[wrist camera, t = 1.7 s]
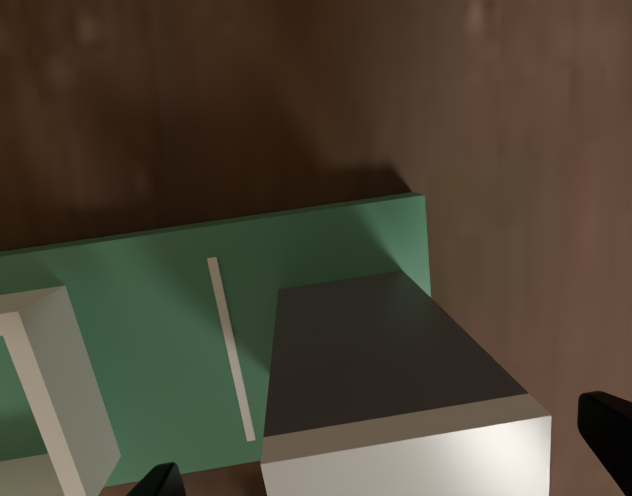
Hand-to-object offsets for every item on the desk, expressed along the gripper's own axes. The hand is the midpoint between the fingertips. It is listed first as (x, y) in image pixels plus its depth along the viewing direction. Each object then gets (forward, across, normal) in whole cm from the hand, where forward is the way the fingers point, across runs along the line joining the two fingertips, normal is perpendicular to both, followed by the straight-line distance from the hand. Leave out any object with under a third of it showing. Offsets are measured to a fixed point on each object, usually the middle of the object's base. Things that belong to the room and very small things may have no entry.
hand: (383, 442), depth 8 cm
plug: (+5, 0, 0) cm, 5 cm away
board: (+6, +7, 0) cm, 9 cm away
